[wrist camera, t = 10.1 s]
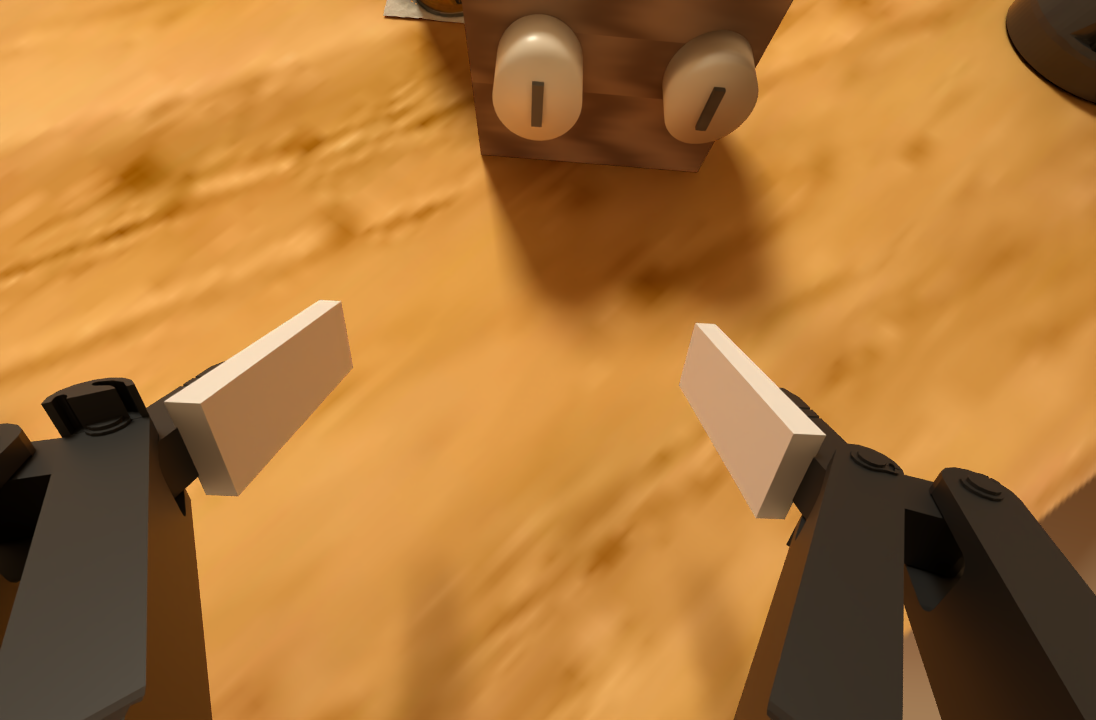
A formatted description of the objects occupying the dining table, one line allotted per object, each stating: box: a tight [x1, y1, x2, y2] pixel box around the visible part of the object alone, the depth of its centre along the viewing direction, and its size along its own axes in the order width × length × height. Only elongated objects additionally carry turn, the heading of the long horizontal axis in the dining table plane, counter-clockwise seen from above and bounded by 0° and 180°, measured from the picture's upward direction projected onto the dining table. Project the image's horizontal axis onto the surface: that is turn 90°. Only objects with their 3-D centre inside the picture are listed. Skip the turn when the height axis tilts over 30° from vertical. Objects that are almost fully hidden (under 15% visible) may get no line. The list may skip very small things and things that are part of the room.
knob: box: [492, 14, 583, 141], centre depth 23 cm, size 5×15×5 cm, turn 178°
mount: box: [462, 0, 793, 172], centre depth 25 cm, size 16×13×11 cm
